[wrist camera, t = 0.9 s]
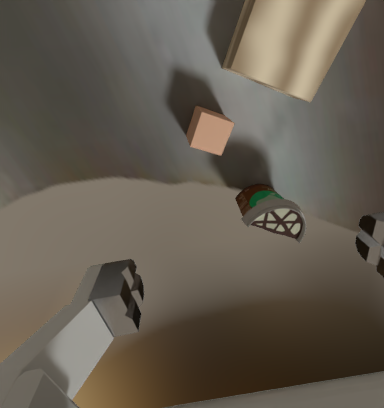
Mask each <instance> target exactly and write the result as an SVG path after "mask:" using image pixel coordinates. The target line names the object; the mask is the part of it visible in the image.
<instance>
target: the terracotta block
mask: <svg viewBox="0 0 384 408" xmlns="http://www.w3.org/2000/svg"><path fill="white" fill-rule="evenodd" d="M233 126H234V122H232V121H231V120H230V119H228V118H227V117H226V116H225V115H222V114H219V113H216V112H214V111H211V110H208V109H205V108H202V107H199V106H197V105H196V106H195V109H194V113H193V116H192V119H191V122H190V125H189V128H188V131H187V134H186V137H187V139H188V142H189V144H190V147H193V148H197V149H200V150H203V151H207V152H210V153H214V154H217V155H220V156H221V155H222V153H223V150H224V148H225V145H226V143H227V140H228V138H229V136H230V133H231V131H232V128H233Z"/></svg>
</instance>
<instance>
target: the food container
mask: <svg viewBox="0 0 384 408" xmlns="http://www.w3.org/2000/svg"><path fill="white" fill-rule="evenodd" d="M236 201H237V204H238V206H239V208H240V211H241V213H242V216H243V218H242V221H243V222H244V223H245V224H246V225H247V227H249V226H250V225H253V226H257V227H260V228H263V229H265V230H268V231H270V232H273V233H277V234H281V235H286V236H288V237H292V238H295V239H296V240H297V241H298V242H299V243H300V242H301V240H302V239H303V237H304V234H305V232H306V221H305V217H304V215H303V213H302V211H301V209H300V208H299V206H298V205H296V204H295V203H294V202H292V201H289V200H286V199H284V198H282V197H281V196H280V195H279V194H278V193H277V192H275V191H274V190H273V189H272V188H271V187H269V186H268V185H264V184H255V185H252V186H249V187H247V188H245V189H244V190H242V191H241V192H240V193H239V194H238V195H237V197H236Z"/></svg>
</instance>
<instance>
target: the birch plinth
mask: <svg viewBox="0 0 384 408" xmlns="http://www.w3.org/2000/svg"><path fill="white" fill-rule="evenodd" d="M365 1H366V0H245V2H244V5H243V8H242V11H241V14H240V17H239V19H238V22H237V25H236V28H235V31H234V34H233V37H232V40H231V43H230V46H229V48H228V51H227V54H226V57H225V60H224V63H223V66H222V68H223V69H225V70H227V71H230V72H232V73H235V74H237V75H240V76H242V77H244V78H247V79H249V80H252V81H254V82H256V83H259V84H261V85H264V86H266V87H268V88H271V89H273V90H276V91H278V92H281V93H283V94H285V95H288V96H290V97H293V98H296V99H300V100H304V101H308V102H311V101H312V99H313V97H314V95H315V93H316V91H317V90H318V88H319V86H320V84H321V82H322V80H323V79H324V77H325V75H326V73H327V71H328V69H329V68H330V66H331V64H332V62H333V60H334V58H335V57H336V55H337V53H338V51H339V49H340V47H341V46H342V44H343V42H344V40H345V38H346V36H347V34H348V33H349V31H350V29H351V27H352V25H353V23H354V22H355V20H356V18H357V16H358V14H359V12H360V11H361V9H362V7H363V5H364V3H365Z"/></svg>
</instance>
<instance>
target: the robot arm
mask: <svg viewBox="0 0 384 408" xmlns="http://www.w3.org/2000/svg"><path fill="white" fill-rule="evenodd" d="M358 226H359V227H360V228H361V231H360V232H359V233H358V235H357V236H356V242H355V244H356V248H357V251H358V253H359V254H360V256H361V257H362V258H363V259H364V260H365V261H366V262H368V263H371V264H374V265H376V271H377V272H378V273H379V274H380V275H381V276H382V277H383V278H384V212H378V213H373V214H368V215H363V216H362V217H361V219H360V221H359V225H358ZM136 268H137V267H136V264H135V262H134V260H132V259H128V260H123V261H116V262H111V263H105V264H99V265H93V266H90V267H89V268H88V269H87V271H86V273H85V275H84V277H83V279H82V282H81V283H80V286H79V288H78V290H77V292H76V294H75V296H74V298H73V300H72V302H71V304H70V305H66V306H65V307H64V308H62V309H61V310H60V311H59V312H58V313H57V314H56V315H55V316H54V317H52V318H51V319H50V320H49V321H48V322H47V323H45V324H44V325H43V326H42V327H41V328H40V329H39V330H38V331H36V333H34V334H33V335H32V336H31V337H30V338H29V339H27V340H26V341H25V342H24V343H23V344H22V345H21V346H20V347H18V348H17V349H16V350H15V351H14V352H13V353H12V354H11V355H9V356H8V357H7V358H6V359H5V360H4V361H3V362H2V363H0V408H79V407H78V406H77V405H76V404H75V403H74V402H73V401H72V399H73V398H74V396H75V395H76V393H77V392H78V390H79V389H80V388H81V386H82V385H83V383H84V382H85V380H86V379H87V377H88V376H89V374H90V373H91V371H92V370H93V368H94V367H95V365H96V364H97V362H98V361H99V360H100V358H101V357H102V355H103V354H104V352H105V351H106V349H107V348H108V346H109V345H110V343H111V342H112V340H113V337H116V336H121V335H125V334H130V333H135V332H138V331H139V325H140V319H141V312H140V309H139V306H140V305H141V304H142V303H143V299H144V286H143V282H142V279H141V276H140V275H138V274H136V273H135V272H136ZM165 408H384V371H383V372H377V373H372V374H366V375H359V376H353V377H347V378H341V379H335V380H329V381H323V382H316V383H310V384H304V385H298V386H293V387H286V388H280V389H274V390H268V391H262V392H256V393H250V394H244V395H238V396H232V397H225V398H220V399H213V400H207V401H201V402H195V403H190V404H183V405H177V406H171V407H165Z"/></svg>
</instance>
